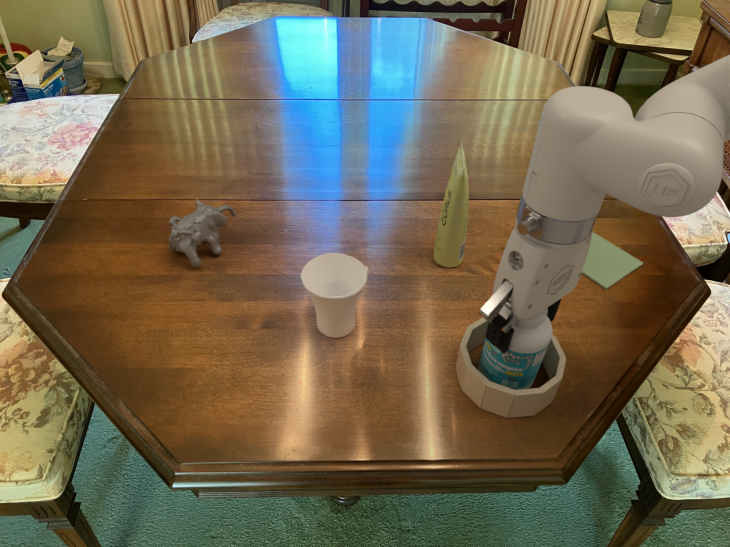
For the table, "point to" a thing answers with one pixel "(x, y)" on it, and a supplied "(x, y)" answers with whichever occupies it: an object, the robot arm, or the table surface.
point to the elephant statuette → (198, 230)
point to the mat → (607, 262)
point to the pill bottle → (518, 352)
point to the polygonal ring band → (500, 396)
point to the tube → (453, 216)
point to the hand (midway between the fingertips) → (519, 328)
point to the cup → (334, 291)
